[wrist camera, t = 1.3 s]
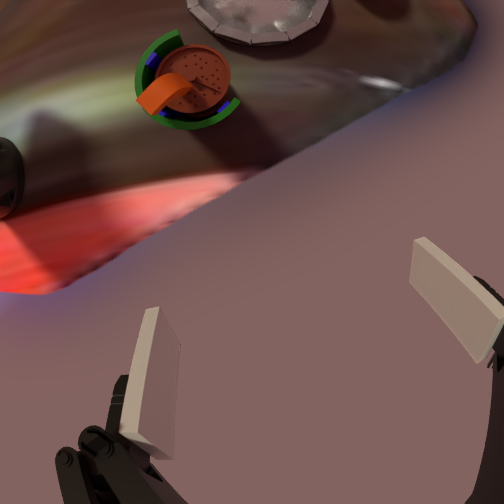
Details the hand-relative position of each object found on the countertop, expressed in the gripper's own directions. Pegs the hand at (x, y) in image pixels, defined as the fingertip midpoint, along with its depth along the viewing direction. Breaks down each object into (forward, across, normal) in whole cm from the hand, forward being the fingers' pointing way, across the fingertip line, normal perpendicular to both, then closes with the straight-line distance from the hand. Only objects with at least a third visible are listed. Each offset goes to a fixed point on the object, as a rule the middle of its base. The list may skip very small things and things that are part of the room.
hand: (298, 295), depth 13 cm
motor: (+31, -4, +12) cm, 34 cm away
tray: (+31, +8, +28) cm, 42 cm away
